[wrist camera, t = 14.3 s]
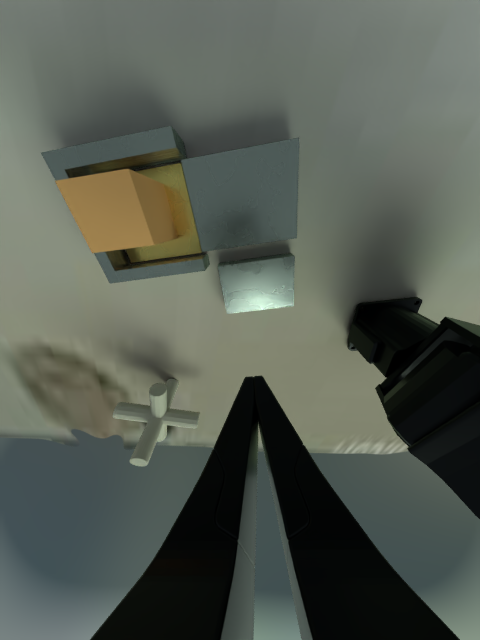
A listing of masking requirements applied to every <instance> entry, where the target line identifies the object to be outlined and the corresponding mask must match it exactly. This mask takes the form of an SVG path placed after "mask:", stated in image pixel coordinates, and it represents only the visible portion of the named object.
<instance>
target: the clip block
mask: <svg viewBox="0 0 480 640" xmlns="http://www.w3.org/2000/svg"><path fill="white" fill-rule="evenodd" d="M55 182H56V184H57V186H58V188H59V190H60V192H61V194H62V196H63V197H64V199H65V201H66V203H67V205H68V207H69V209H70V211H71V213H72V215H73V217H74V219H75V221H76V223H77V224H78V226H79V228H80V230H81V232H82V234H83V236H84V238H85V240H86V242H87V244H88V246H89V248H90V250H91V252H92V253H98V252H106V251H113V250H121V249H128V248H136V247H144V246H151V245H156V244H160V243H163V242H167V241H170V240H173V239H177V238H178V236H177V232H176V228H175V225H174V221H173V217H172V214H171V210H170V206H169V202H168V199H167V195H166V191H165V188H164V184H162V183H160V182H158V181H155V180H153V179H151V178H148V177H146V176H144V175H142V174H139V173H137V172H135V171H133V170H130V169H123V170H117V171H111V172H105V173H99V174H93V175H87V176H81V177H75V178H69V179H63V180H57V181H55Z"/></svg>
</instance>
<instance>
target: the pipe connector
mask: <svg viewBox="0 0 480 640" xmlns="http://www.w3.org/2000/svg"><path fill="white" fill-rule="evenodd" d="M178 385H179V382H178V381H177V380H176V379H168V380H167V382H166V384H163V383H156V384H154V385H152V387H151V388H150V390H149V396H150V406H148V405H141V404H134V403H126V402H119V403H118V405H117V406H116V408H115V410H114V413H113V417H114V418H117V419H125V420H132V421H140V422H147V425H146V427H145V429H144V431H143V433H142V435H141V437H140V440H139V442H138V444H137V446H136V448H135V450H134V452H133V455H132V457H131V459H130V463H131V464H133V465H136V466H146V465H148V462H149V460H150V457H151V455H152V452H153V449H154V447H155V444H156V442H160V441H162V440H164V439H165V437H166V436H167V425H171V426H179V427H187V428H195V429H197V425H198V420H199V415H200V413H199V412H192V411H184V410H177V409H170V406H171V403H172V401H173V398H174V395H175V393H176V390H177V388H178Z"/></svg>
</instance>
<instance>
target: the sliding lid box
mask: <svg viewBox="0 0 480 640" xmlns="http://www.w3.org/2000/svg"><path fill="white" fill-rule="evenodd" d="M41 154H42V156H43V158H44V159H45V161H46V163H47V165H48V167H49V169H50V171H51V173H52V175H53V177H54V178H55V180H56V181H57V180H63V179H69V178H75V177H81V176H87V175H93V174H99V173H105V172H111V171H117V170H123V169H130V170H132V169H138V168H143V167H148V166H153V165H159V164H164V163H169V162H174V161H180V160H181V162H182V164H181V163H178V164H172V165H167V166H162V167H157V168H151V169H146V170H141V171H135V172H137V173H139V174H142V175H144V176H146V177H148V178H151V179H153V180H155V181H158V182H160V183H162V184H164V188H165V191H166V195H167V199H168V202H169V206H170V210H171V214H172V217H173V221H174V225H175V228H176V232H177V236H178V238H177V239H173V240H170V241H167V242H163V243H160V244H156V245H151V246H144V247H136V248H128V249H126V252H127V254H128V256H129V259H130V261H131V263H133V262H140V261H147V260H154V259H161V258H168V257H175V256H182V255H189V254H196V253H202V252H204V251H211V250H218V249H224V248H231V247H238V246H245V245H252V244H259V243H266V242H273V241H280V240H287V239H294V238H297V203H298V165H299V138H294V139H289V140H283V141H278V142H273V143H268V144H262V145H257V146H252V147H247V148H241V149H236V150H231V151H226V152H220V153H215V154H210V155H205V156H199V157H194V158H189V159H187V157H186V152H185V148H184V143H183V141H182V139H181V138H180V137H179V135H178V134H177V133H176V131H175V130H174V129H173V128H172V126H168V127H163V128H158V129H153V130H148V131H144V132H139V133H134V134H129V135H124V136H119V137H115V138H110V139H105V140H100V141H95V142H91V143H86V144H81V145H76V146H71V147H66V148H62V149H57V150H52V151H47V152H42V153H41ZM182 167H183V168H182ZM183 171H184V172H183ZM184 175H185V176H184ZM185 180H186V181H185ZM186 184H187V185H186ZM187 188H188V189H187ZM188 193H189V194H188ZM189 197H190V198H189ZM190 201H191V202H190ZM191 206H192V207H191ZM192 210H193V211H192ZM193 214H194V215H193ZM194 219H195V220H194ZM195 223H196V224H195ZM196 227H197V228H196ZM198 236H199V237H198ZM199 240H200V241H199ZM201 249H202V250H201ZM94 254H95V256H96V258H97V260H98V262H99V264H100V265H101V267H102V269H103V271H104V273H105V275H106V277H107V279H108V281H109V283H117V282H124V281H132V280H139V279H147V278H154V277H161V276H169V275H176V274H184V273H191V272H198V271H205V270H206V269H207V267H208V266H209V265H210V263H209V258H208V254H203V255H196V256H189V257H182V258H175V259H168V260H161V261H154V262H147V263H140V264H133V265H130V262H129V260H128V258H127V256H126V253H125V251H124V249H121V250H113V251H106V252H98V253H94Z"/></svg>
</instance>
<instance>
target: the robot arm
mask: <svg viewBox="0 0 480 640" xmlns="http://www.w3.org/2000/svg"><path fill="white" fill-rule="evenodd" d="M421 303H422V299H420V298H418V297H413V298H404V299H394V300H385V301H376V302H367V303H360V304H358V305H357V307H356V311H355V315H354V319H353V322H352V325H351V330H350V334H349V339H348V340H349V342H348V349H349V350H350V351H357V350H358V351H359V352H360V354H361V355H362V356H363V357H364V358H365V359H366V360H367V362H369V363H370V364H372V363H373V364H374V365H375V366H376V367H377V368H378V369H379V370H380V372H381V373H382V374H383V375H384V376H385V377H387V378H386V379H385V380H384V381H383V382H382V383H381V384H379V385H378V386H377V387H376V388H375V389H376V391H377V393H378V396H379V398H380V400H381V403H382V405H383V407H384V410H385V412H386V414H387V419H388V421H389V423H390V424H391V426H392V427H393V429H394V431H395V432H396V434H397V435H398V436H399V437H400V438H401V439H402V440H403V442H405V443H406V444H407V445H408V446H409V447H408V451H409V452H410V453H411V454H413V455H414V456H415V457H417V458H418V459H419V460H420V461H422V462H423V463H424V464H426V465H427V466H428V467H429V468H430V469H432V470H433V471H434V472H435V473H436V474H437V475H438V476H439V477H440V478H441V479H442V480H443V481H444V482H445V483H446V484H447V485H448V486H449V487H450V488H451V489H452V490H453V491H454V492H455V493H456V494H457V495H458V497H459V498H460V499H461V500H462V501H463V502H464V503H465V504H466V505H467V506H468V508H469V509H470V510H471V511H472V512H473V513H474V514H475V515H476V516H477V517H478V518H479V519H480V325H476V324H472V323H468V322H464V321H460V320H457V319H453V318H449V317H445V318H444V319H443V320H442V321H441V322H440V323H441V324H440V325H439V324H437V323H435V322H434V321H432V320H430V319H428V318H426V317H424V316H422V315H421V314H419V313H418V310H419V308H420V306H421ZM362 307H363V308H362ZM361 308H362V309H361ZM258 423H259V429H260V434H261V439H262V444H263V449H264V454H265V459H266V464H267V469H268V474H269V479H270V483H271V489H272V493H273V498H274V504H275V508H276V514H277V519H278V524H279V528H280V534H281V539H282V543H283V549H284V554H285V559H286V564H287V567H288V573H289V579H290V584H291V588H292V594H293V599H294V604H295V608H296V614H297V619H298V624H299V628H300V634H301V638H302V640H460V639H459V638H458V637H457V636H456V635H455V634H454V633H453V632H452V631H451V630H450V629H449V628H448V627H447V625H446V624H445V623H444V622H443V621H442V620H441V619H440V618H439V617H438V616H437V615H436V614H435V613H434V612H433V611H432V610H431V609H430V608H429V606H428V605H427V604H426V603H425V602H424V601H423V600H422V599H421V598H420V597H419V596H418V595H417V594H416V593H415V592H414V591H413V590H412V589H411V587H409V585H408V584H407V583H406V582H405V581H404V580H403V579H402V578H401V577H400V576H399V574H397V572H396V571H395V570H394V569H393V567H392V566H391V565H390V564H389V563H388V561H387V560H386V559H385V558H384V556H383V555H382V554H381V553H380V551H379V550H378V549H377V548H376V546H375V545H374V544H373V542H372V541H371V540H370V539H369V537H368V536H367V534H366V533H365V532H364V530H363V529H362V528H361V526H360V525H359V523H358V522H357V521H356V519H355V518H354V517H353V515H352V514H351V513H350V512H349V510H348V509H347V507H346V506H345V505H344V503H343V502H342V501H341V499H340V498H339V496H338V495H337V494H336V492H335V491H334V490H333V488H332V487H331V485H330V484H329V483H328V481H327V480H326V478H325V477H324V476H323V474H322V473H321V471H320V470H319V468H318V467H317V465H316V463H315V462H314V460H313V459H312V457H311V455H310V454H309V452H308V450H307V449H306V447H305V446H304V445H303V442H302V441H301V439H300V437H299V436H298V434H297V432H296V431H295V429H294V427H293V426H292V424H291V423H290V421H289V419H288V418H287V416H286V414H285V413H284V411H283V409H282V408H281V406H280V404H279V403H278V401H277V399H276V398H275V396H274V394H273V393H272V391H271V389H270V388H269V386H268V384H267V383H266V381H265V379H264V378H263V376H255V377H252V376H251V377H245V379H244V381H243V383H242V385H241V387H240V390H239V392H238V394H237V396H236V399H235V401H234V403H233V405H232V408H231V410H230V412H229V414H228V417H227V419H226V421H225V423H224V426H223V428H222V430H221V432H220V435H219V437H218V439H217V441H216V444H215V446H214V449H213V450H212V452H211V455H210V457H209V459H208V461H207V463H206V466H205V468H204V470H203V472H202V474H201V476H200V478H199V480H198V482H197V483H196V485H195V487H194V489H193V491H192V493H191V495H190V497H189V498H188V500H187V502H186V503H185V505H184V507H183V509H182V511H181V512H180V514H179V516H178V518H177V519H176V521H175V523H174V525H173V527H172V528H171V530H170V532H169V534H168V536H167V537H166V539H165V541H164V543H163V544H162V546H161V548H160V550H159V551H158V553H157V554H156V556H155V557H154V559H153V560H152V562H151V563H150V565H149V566H148V568H147V569H146V571H145V572H144V573H143V575H142V576H141V577H140V579H139V580H138V581H137V582H136V584H135V585H134V586H133V587H132V589H131V590H130V591H129V592H128V593H127V595H126V596H125V597H124V599H123V600H122V601H121V602H120V603H119V605H118V606H117V607H116V609H115V610H114V611H113V612H112V613H111V615H110V616H109V617H108V618H107V619H106V621H105V622H104V623H103V624H102V626H101V627H100V628H99V629H98V630H97V632H96V633H95V634H94V635H93V637H92V638H91V639H90V640H253V631H254V629H253V628H254V590H255V586H254V585H255V568H254V567H255V547H256V545H255V544H256V505H257V463H258Z"/></svg>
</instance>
